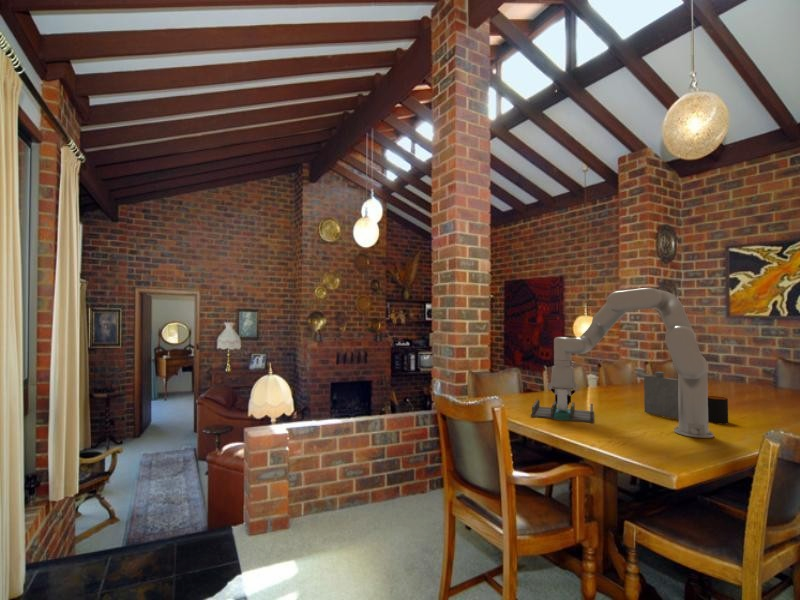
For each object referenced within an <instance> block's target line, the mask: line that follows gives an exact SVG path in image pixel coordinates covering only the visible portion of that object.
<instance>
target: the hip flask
mask: <svg viewBox="0 0 800 600" xmlns="http://www.w3.org/2000/svg"><path fill="white" fill-rule="evenodd" d="M654 374H655V375H648V374H644V375H643V386H644V387H643V389H644V390H643V392H644V393H643V394H644V398H643V399H644V405H643V406H644V413H645V412H646V414H649V413H650V415H653V414H655V415H654V416H657V415H660V416H659V417H662V416H664V417H663V418H666V417H669V418H668V419H672V418H675V419H674V420H679V412H678V378H671V377H670V378H669V377H664V375H665V372H664V371H663V372H662V371H655V372H654Z"/></svg>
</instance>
